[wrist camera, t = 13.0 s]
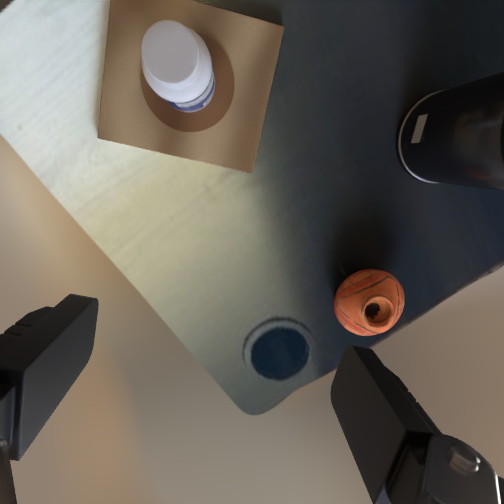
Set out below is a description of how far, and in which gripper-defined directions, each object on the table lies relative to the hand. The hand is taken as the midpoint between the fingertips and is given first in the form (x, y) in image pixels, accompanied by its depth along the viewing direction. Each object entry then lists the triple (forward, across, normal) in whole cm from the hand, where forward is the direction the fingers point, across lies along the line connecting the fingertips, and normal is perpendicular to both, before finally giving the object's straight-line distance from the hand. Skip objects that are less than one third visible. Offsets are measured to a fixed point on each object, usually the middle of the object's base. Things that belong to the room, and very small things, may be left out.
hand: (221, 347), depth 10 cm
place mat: (+27, +6, -12) cm, 30 cm away
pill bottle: (+26, +6, -12) cm, 29 cm away
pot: (+28, -18, +6) cm, 33 cm away
